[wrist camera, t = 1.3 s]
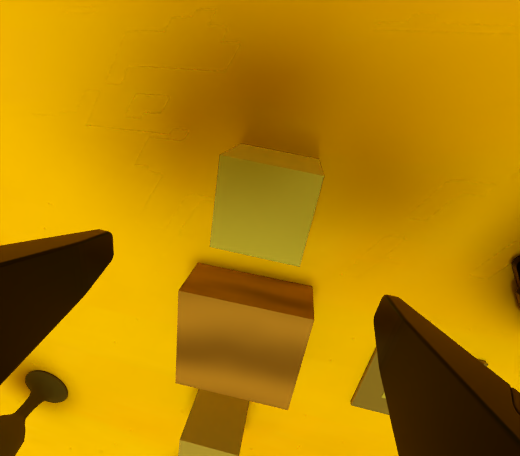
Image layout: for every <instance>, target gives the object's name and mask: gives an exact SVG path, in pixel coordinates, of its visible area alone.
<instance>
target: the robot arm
mask: <svg viewBox="0 0 520 456" xmlns="http://www.w3.org/2000/svg"><path fill="white" fill-rule="evenodd" d="M113 255H114V251H113V236H112V234H111V233H110V232H109V231H104V230H100V229H97V230H91V231H85V232H79V233H73V234H67V235H61V236H55V237H49V238H43V239H37V240H31V241H25V242H19V243H13V244H7V245H1V246H0V385H1V384H2V383H3V382H4V381H5V380H6V378H7V377H8V376H9V375H10V374H11V373H12V372H13V371H14V370H15V369H16V368H17V367H18V366H19V365H20V364H21V363H22V361H23V360H24V359H25V358H26V357H27V356H28V355H29V354H30V353H31V352H32V351H33V350H34V349H35V348H36V347H37V346H38V345H39V343H40V342H41V341H42V340H43V339H44V338H45V337H46V336H47V335H48V334H49V333H50V332H51V331H52V330H53V329H54V328H55V326H56V325H57V324H58V323H59V322H60V321H61V320H62V319H63V318H64V317H65V316H66V315H67V314H68V313H69V312H70V311H71V310H72V308H73V307H74V306H75V305H76V304H77V303H78V302H79V301H80V300H81V299H82V298H83V297H84V295H85V294H86V293H87V292H88V291H89V289H90V288H91V287H92V285H93V284H94V283H95V281H96V280H97V279H98V278H99V276H100V275H101V274H102V272H103V271H104V270H105V268H106V267H107V266H108V265H109V263H110V262H111V260H112V258H113ZM512 266H513V270H514V274H515V278H516V282H517V285H518V288H517V289H516V292H515V293H516V296H517V300H518V304H519V307H520V256H518V257H516V258H515V259H514V260H513V262H512ZM374 330H375V339H376V348H377V357H378V365H379V371H380V376H381V380H382V384H383V389H384V393H385V397H386V402H387V406H388V411H389V415H390V419H391V424H392V428H393V433H394V437H395V441H396V446H397V450H398V455H399V456H520V393H519V392H518V391H517V390H516V389H514V388H511V387H510V385H509V384H508V383H507V382H505V381H504V380H503V379H502V378H500V377H499V376H498V375H496V374H495V373H494V372H493V371H491V370H490V369H489V368H488V367H486V366H485V365H484V364H483V363H481V362H480V361H479V360H477V359H476V358H475V357H474V356H472V355H471V354H470V353H469V352H467V351H466V350H465V349H464V348H462V347H461V346H460V345H458V344H457V343H456V342H455V341H453V340H452V339H451V338H450V337H448V336H447V335H446V334H445V333H443V332H442V331H441V330H439V329H438V328H437V327H436V326H434V325H433V324H432V323H431V322H429V321H428V320H427V319H425V318H424V317H423V316H422V315H420V314H419V313H418V312H417V311H415V310H414V309H413V308H412V307H410V306H409V305H408V304H406V303H405V302H404V301H403V300H401V299H400V298H399V297H395V296H391V295H384V296H383V297H382V299H381V301H380V304H379V306H378V308H377V310H376V313H375V315H374Z"/></svg>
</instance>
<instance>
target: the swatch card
mask: <svg viewBox="0 0 520 456" xmlns="http://www.w3.org/2000/svg"><path fill="white" fill-rule="evenodd" d="M479 361H480V362H481V363H483V364H484V365H485V366H486V367H487V365H488V364H487V363H486V361H481V360H479ZM351 405H352V406H356V407H360V408H364V409H368V410H372V411H376V412H380V413H384V414H388V415H389V411H388V406H387V402H386V397H385V393H384V389H383V384H382V380H381V376H380V371H379V365H378V357H377V348H376V349H375V351H374V353H373V355H372V358H371V360H370V362H369V364H368V366H367V368H366V370H365V372H364V375H363V377H362V379H361V381H360V383H359V385H358V387H357V389H356V392H355V394H354V396H353V398H352V400H351Z"/></svg>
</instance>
